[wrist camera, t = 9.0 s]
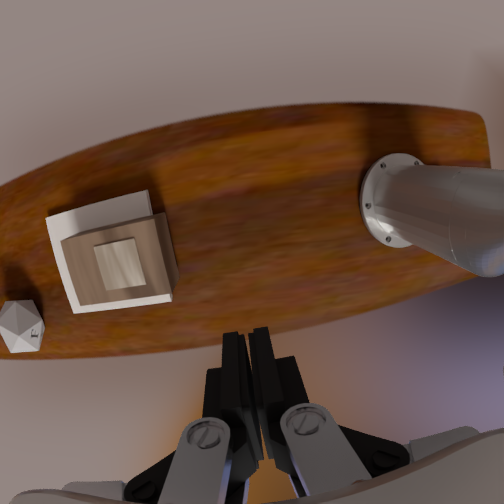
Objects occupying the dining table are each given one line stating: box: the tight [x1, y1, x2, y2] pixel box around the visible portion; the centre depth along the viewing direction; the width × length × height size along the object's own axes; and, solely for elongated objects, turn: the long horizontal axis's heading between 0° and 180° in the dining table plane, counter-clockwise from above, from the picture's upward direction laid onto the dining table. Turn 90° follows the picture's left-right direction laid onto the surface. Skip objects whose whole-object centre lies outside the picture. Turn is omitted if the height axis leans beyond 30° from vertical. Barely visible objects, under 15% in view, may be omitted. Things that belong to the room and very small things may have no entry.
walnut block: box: [60, 212, 180, 306], centre depth 31 cm, size 5×8×12 cm
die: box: [0, 300, 45, 353], centre depth 32 cm, size 8×9×10 cm
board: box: [46, 190, 173, 314], centre depth 33 cm, size 16×14×1 cm
